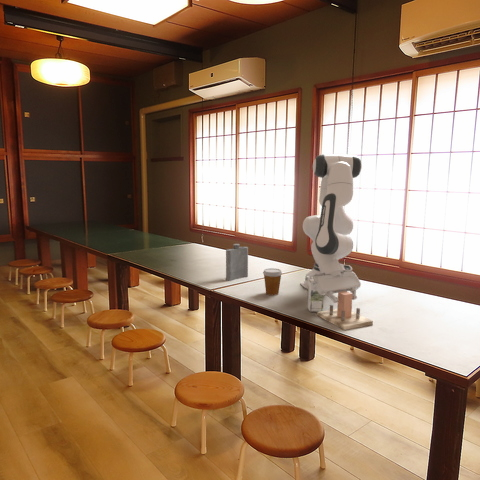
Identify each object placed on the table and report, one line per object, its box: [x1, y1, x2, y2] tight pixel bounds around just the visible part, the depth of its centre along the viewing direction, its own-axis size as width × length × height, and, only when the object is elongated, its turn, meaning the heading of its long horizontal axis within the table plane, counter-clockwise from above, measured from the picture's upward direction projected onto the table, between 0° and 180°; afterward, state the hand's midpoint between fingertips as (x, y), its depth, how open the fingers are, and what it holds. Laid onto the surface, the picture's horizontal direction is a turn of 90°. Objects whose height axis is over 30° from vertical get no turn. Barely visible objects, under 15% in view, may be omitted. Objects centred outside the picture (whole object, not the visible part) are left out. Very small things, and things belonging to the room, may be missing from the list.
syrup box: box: [307, 277, 324, 313], centre depth 179 cm, size 6×6×14 cm
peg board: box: [316, 304, 374, 331], centre depth 168 cm, size 18×14×6 cm
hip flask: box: [225, 243, 249, 282], centre depth 233 cm, size 16×4×20 cm, turn 133°
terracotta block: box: [336, 291, 353, 318], centre depth 167 cm, size 4×4×10 cm
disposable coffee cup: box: [262, 267, 283, 296], centre depth 204 cm, size 10×10×12 cm
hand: (345, 300), depth 167 cm, fingers open, 8 cm apart
